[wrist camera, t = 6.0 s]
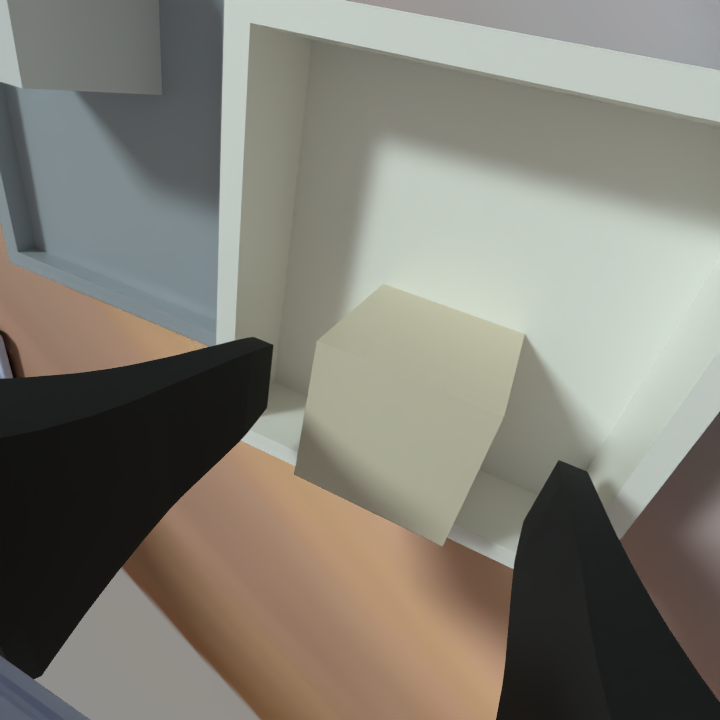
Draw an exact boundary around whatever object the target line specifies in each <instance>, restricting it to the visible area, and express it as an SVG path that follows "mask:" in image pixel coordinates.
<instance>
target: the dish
mask: <svg viewBox="0 0 720 720" xmlns="http://www.w3.org/2000/svg"><path fill="white" fill-rule="evenodd" d="M382 284H385V285H388V286H391V287H394V288H397V289H399V290H402V291H405V292H408V293H411V294H413V295H416V296H419V297H422V298H425V299H428V300H430V301H433V302H436V303H439V304H442V305H444V306H447V307H450V308H453V309H456V310H459V311H461V312H464V313H467V314H470V315H473V316H475V317H478V318H481V319H484V320H487V321H490V322H492V323H495V324H498V325H501V326H504V327H506V328H509V329H512V330H515V331H518V332H520V333H523V334H525V335H524V339H523V343H522V347H521V351H520V355H519V359H518V363H517V367H516V371H515V375H514V379H513V383H512V387H511V392H510V396H509V400H508V404H507V408H506V412H505V416H504V418H503V420H502V422H501V424H500V427H499V429H498V431H497V433H496V435H495V437H494V439H493V441H492V443H491V446H490V448H489V450H488V452H487V454H486V456H485V458H484V460H483V462H482V465H481V467H480V469H479V471H478V473H477V475H476V477H475V479H474V481H473V484H472V486H471V488H470V490H469V492H468V494H467V496H466V498H465V500H464V503H463V505H462V507H461V509H460V511H459V513H458V515H457V517H456V519H455V522H454V524H453V526H452V528H451V530H450V532H449V534H448V536H447V538H448V539H451V540H453V541H455V542H457V543H459V544H461V545H463V546H465V547H468V548H470V549H472V550H474V551H476V552H478V553H480V554H482V555H484V556H487V557H489V558H491V559H493V560H495V561H497V562H499V563H501V564H504V565H506V566H508V567H510V568H512V569H514V561H515V556H516V551H517V547H518V542H519V538H520V533H521V529H522V525H523V521H524V519H525V517H526V516H527V514H528V512H529V510H530V509H531V507H532V505H533V503H534V502H535V500H536V498H537V497H538V495H539V493H540V491H541V490H542V488H543V486H544V484H545V483H546V481H547V479H548V478H549V476H550V474H551V472H552V471H553V469H554V467H555V465H556V464H557V462H558V460H560V461H563V462H565V463H568V464H570V465H572V466H575V467H577V468H580V469H582V470H585V471H587V472H588V474H589V476H590V478H591V480H592V482H593V485H594V487H595V489H596V491H597V493H598V496H599V498H600V500H601V502H602V504H603V507H604V509H605V511H606V513H607V515H608V517H609V520H610V522H611V524H612V526H613V528H614V530H615V532H616V534H617V537H618V539H619V540H620V539H621V538H622V537H623V536H624V534H625V533H626V532H627V530H628V529H629V528H630V527H631V525H632V524H633V523H634V521H635V520H636V519H637V517H638V516H639V515H640V514H641V512H642V511H643V510H644V508H645V507H646V506H647V505H648V503H649V502H650V501H651V499H652V498H653V497H654V496H655V494H656V493H657V492H658V490H659V489H660V488H661V487H662V485H663V484H664V483H665V481H666V480H667V479H668V477H669V476H670V475H671V474H672V472H673V471H674V470H675V468H676V467H677V466H678V465H679V463H680V462H681V461H682V459H683V458H684V457H685V456H686V454H687V453H688V452H689V450H690V449H691V448H692V447H693V445H694V444H695V443H696V441H697V440H698V439H699V437H700V436H701V435H702V434H703V432H704V431H705V430H706V428H707V427H708V426H709V425H710V423H711V422H712V421H713V419H714V418H715V417H716V416H717V414H718V413H719V412H720V70H715V69H709V68H704V67H699V66H693V65H688V64H683V63H677V62H672V61H667V60H661V59H656V58H651V57H645V56H640V55H634V54H629V53H624V52H618V51H613V50H608V49H602V48H597V47H592V46H586V45H581V44H576V43H570V42H565V41H559V40H554V39H549V38H543V37H538V36H533V35H527V34H522V33H517V32H511V31H506V30H501V29H495V28H490V27H484V26H479V25H474V24H468V23H463V22H458V21H452V20H447V19H442V18H436V17H431V16H426V15H420V14H415V13H409V12H404V11H399V10H393V9H388V8H383V7H377V6H372V5H367V4H361V3H356V2H351V1H345V0H224V37H223V79H222V121H221V162H220V204H219V246H218V287H217V329H216V345H219V344H223V343H227V342H231V341H235V340H239V339H244V338H249V337H255V338H258V339H260V340H263V341H265V342H268V343H270V344H273V345H274V346H273V356H272V365H271V375H270V385H269V395H268V405H267V408H266V410H265V411H264V412H263V414H262V415H261V416H260V418H259V419H258V420H257V422H256V423H255V424H254V425H253V427H252V428H251V429H250V430H249V431H248V433H247V434H246V435H245V436H244V437H243V438H242V439H241V441H243V442H245V443H247V444H249V445H251V446H253V447H256V448H258V449H260V450H262V451H264V452H266V453H268V454H270V455H273V456H275V457H277V458H279V459H281V460H283V461H285V462H287V463H290V464H292V465H294V466H296V460H297V454H298V448H299V442H300V437H301V431H302V425H303V419H304V413H305V407H306V401H307V396H308V390H309V384H310V378H311V372H312V366H313V360H314V354H315V349H316V343H317V340H319V339H320V338H321V337H322V336H323V335H324V334H326V333H327V332H328V331H329V330H330V329H331V328H332V327H334V326H335V325H336V324H337V323H338V322H339V321H341V320H342V319H343V318H344V317H345V316H346V315H348V314H349V313H350V312H351V311H352V310H353V309H355V308H356V307H357V306H358V305H359V304H360V303H362V302H363V301H364V300H365V299H366V298H367V297H368V296H370V295H371V294H372V293H373V292H374V291H375V290H377V289H378V288H379V287H380V286H381V285H382Z"/></svg>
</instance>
